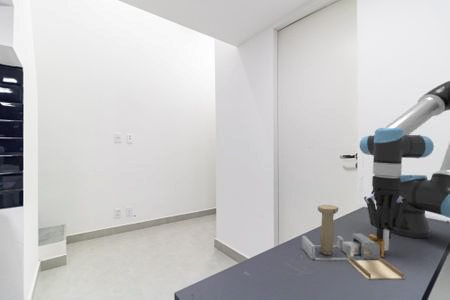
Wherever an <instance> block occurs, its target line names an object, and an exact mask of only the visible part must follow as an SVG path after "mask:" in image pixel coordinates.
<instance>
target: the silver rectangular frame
mask: <svg viewBox="0 0 450 300" xmlns="http://www.w3.org/2000/svg"><path fill="white" fill-rule="evenodd" d="M342 242H344V238H343V237H342V236H341V235H337V237H336V244H335V245H334V244H333V248H332V249H335V248H336V249H338V250H339V251H342ZM301 248H302V250H303V251H304V252H305V253H306V255H308V258H310V260H315V261H350V257H352V258H353V259H354V257H355V254H354V246H353V245H351V244H347V254H346V257H316V248H317V249H318V248H321V244H319V245H314V243H313V242H312V241H311V240H310V239H309V238H308V237H307V236H306V235H301ZM321 249H322V248H321ZM354 260H355V259H354Z"/></svg>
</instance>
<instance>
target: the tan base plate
mask: <svg viewBox="0 0 450 300" xmlns="http://www.w3.org/2000/svg"><path fill="white" fill-rule="evenodd" d="M347 261H348V263H349V264H350V265H351V266H352V267H354V269H356V270H357V271H358V273H360V275H362V276H363V277H364V278H365V279H366V280H377V281H378V280H405V279H406V277H405V275H404V273H403V272H401V270H399V269H398V268H397V267H394V266H393V264H391V263H389V262H388V261H387V260H385V259H383V258H382V257H381V256H380V257H378V259H377V260H356V259H353V258H352V257H350V260H347Z"/></svg>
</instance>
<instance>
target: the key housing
mask: <svg viewBox="0 0 450 300" xmlns="http://www.w3.org/2000/svg"><path fill="white" fill-rule="evenodd" d="M350 242H361V243H363V244H362V245H361V254H360V257H361V258H362V259H364V260H365V259H366V260H367V259H368V260H371V259H373V260H374V259H375V260H378V257H381V256H380V245H378V244H376V243H375V242H374V241H372V240H371V239H369V237H367V236H365V234H363V233H352V236H350Z"/></svg>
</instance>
